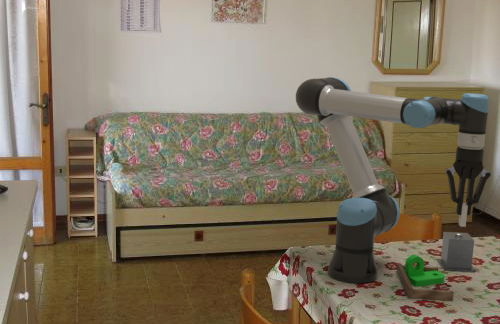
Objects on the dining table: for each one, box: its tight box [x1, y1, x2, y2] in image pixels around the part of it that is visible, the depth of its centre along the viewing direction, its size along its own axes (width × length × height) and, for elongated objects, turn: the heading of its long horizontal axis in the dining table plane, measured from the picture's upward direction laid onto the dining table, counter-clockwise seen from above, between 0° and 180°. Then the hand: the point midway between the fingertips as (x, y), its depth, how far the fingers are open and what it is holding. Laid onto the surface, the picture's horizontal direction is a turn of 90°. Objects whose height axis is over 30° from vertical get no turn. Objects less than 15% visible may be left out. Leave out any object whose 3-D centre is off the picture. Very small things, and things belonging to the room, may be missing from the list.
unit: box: [436, 231, 476, 273], centre depth 219 cm, size 10×10×11 cm
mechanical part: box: [404, 254, 445, 288], centre depth 204 cm, size 12×6×8 cm, turn 112°
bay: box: [396, 262, 455, 301], centre depth 201 cm, size 13×21×3 cm, turn 176°
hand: (461, 225), depth 198 cm, fingers closed
